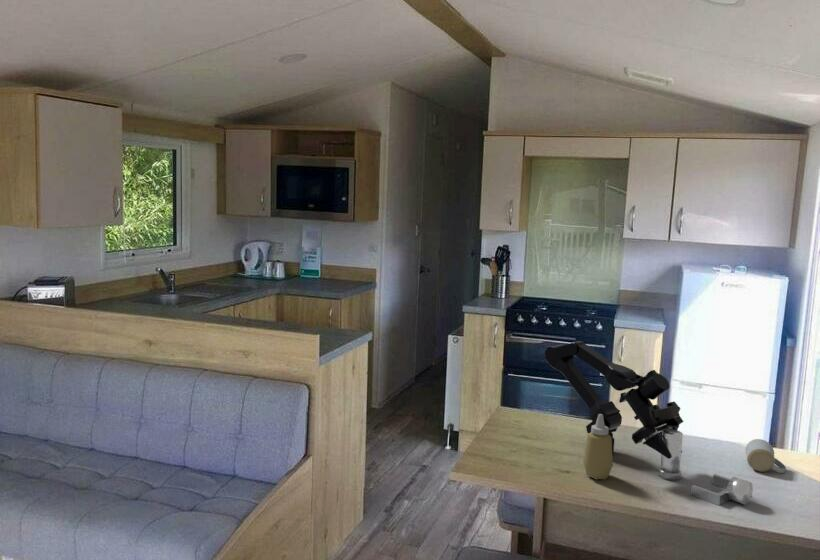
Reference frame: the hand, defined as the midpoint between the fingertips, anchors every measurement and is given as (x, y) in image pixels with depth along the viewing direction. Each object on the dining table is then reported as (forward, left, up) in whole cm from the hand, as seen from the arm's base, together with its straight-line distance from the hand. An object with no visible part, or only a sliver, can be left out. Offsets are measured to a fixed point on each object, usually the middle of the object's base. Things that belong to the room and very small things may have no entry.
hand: (675, 455), depth 190 cm
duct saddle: (+10, -10, -7) cm, 16 cm away
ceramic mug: (+29, +11, -7) cm, 32 cm away
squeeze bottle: (-22, -1, -7) cm, 23 cm away
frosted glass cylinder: (-1, +1, -7) cm, 7 cm away
